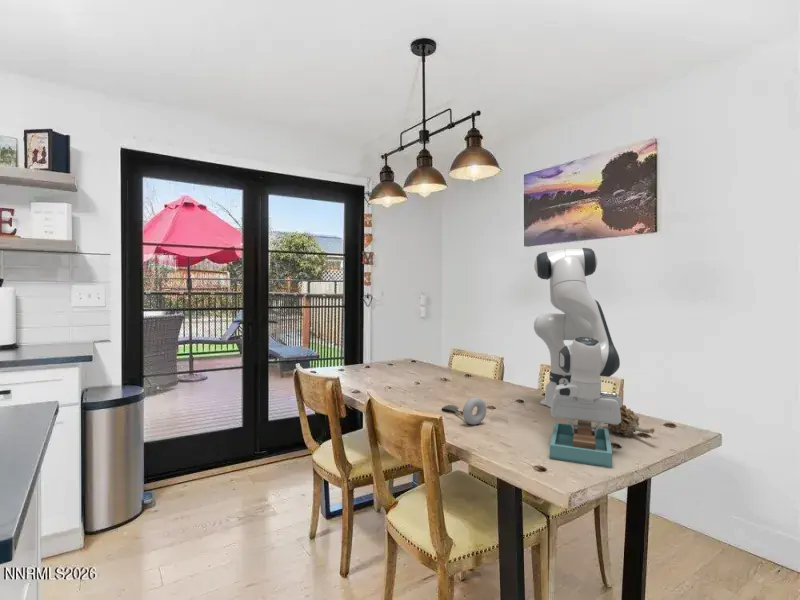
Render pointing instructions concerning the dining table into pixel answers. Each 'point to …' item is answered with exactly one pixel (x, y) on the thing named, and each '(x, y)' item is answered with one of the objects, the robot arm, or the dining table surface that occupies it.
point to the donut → (469, 408)
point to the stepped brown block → (584, 436)
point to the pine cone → (628, 423)
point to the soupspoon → (453, 408)
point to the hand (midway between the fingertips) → (584, 434)
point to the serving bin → (566, 452)
